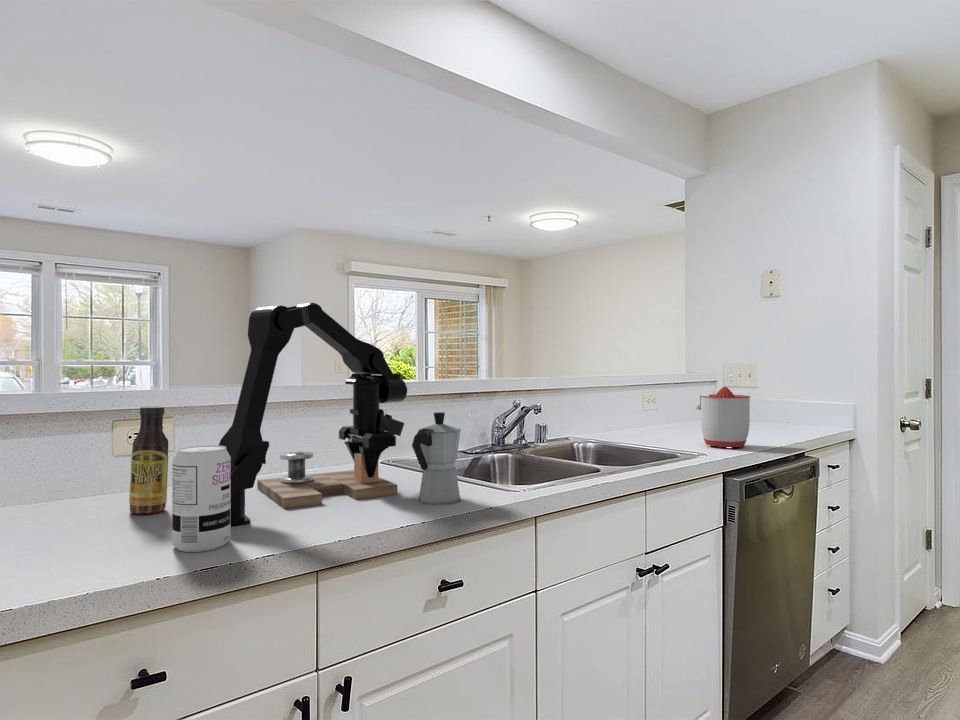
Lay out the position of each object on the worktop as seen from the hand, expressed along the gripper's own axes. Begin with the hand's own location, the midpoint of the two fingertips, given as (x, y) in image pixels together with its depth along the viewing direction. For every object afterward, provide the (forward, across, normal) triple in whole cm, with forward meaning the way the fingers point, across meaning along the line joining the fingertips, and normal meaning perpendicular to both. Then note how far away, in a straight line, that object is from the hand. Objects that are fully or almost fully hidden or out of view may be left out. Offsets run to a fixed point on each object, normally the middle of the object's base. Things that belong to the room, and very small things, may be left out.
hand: (366, 475), depth 135 cm
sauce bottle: (+4, +4, +42) cm, 42 cm away
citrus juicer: (+3, 0, -126) cm, 126 cm away
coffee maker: (+3, -18, -8) cm, 20 cm away
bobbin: (+1, +8, +13) cm, 15 cm away
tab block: (+1, 0, 0) cm, 1 cm away
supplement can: (+4, -24, +37) cm, 44 cm away
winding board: (+3, +3, +8) cm, 9 cm away
